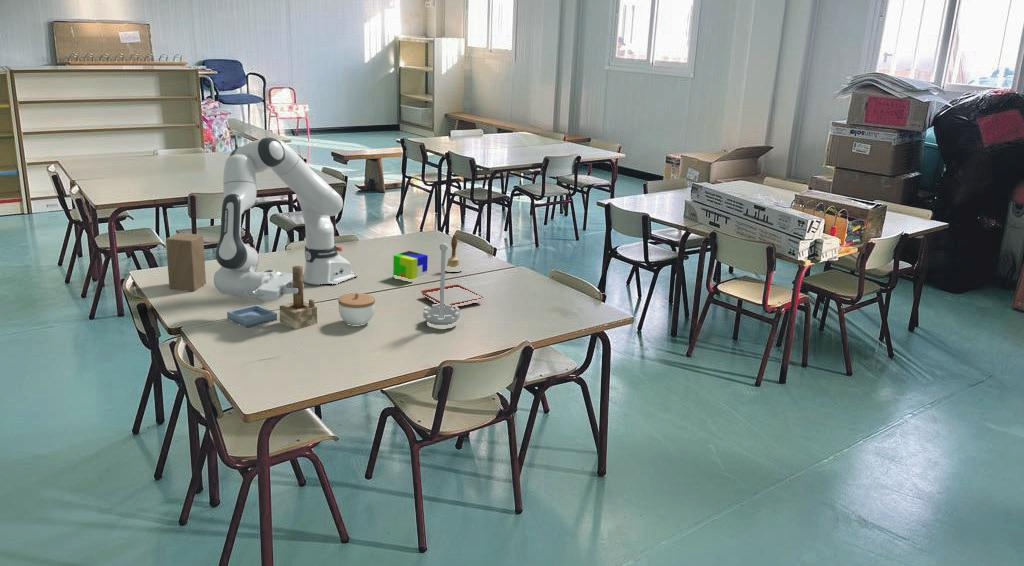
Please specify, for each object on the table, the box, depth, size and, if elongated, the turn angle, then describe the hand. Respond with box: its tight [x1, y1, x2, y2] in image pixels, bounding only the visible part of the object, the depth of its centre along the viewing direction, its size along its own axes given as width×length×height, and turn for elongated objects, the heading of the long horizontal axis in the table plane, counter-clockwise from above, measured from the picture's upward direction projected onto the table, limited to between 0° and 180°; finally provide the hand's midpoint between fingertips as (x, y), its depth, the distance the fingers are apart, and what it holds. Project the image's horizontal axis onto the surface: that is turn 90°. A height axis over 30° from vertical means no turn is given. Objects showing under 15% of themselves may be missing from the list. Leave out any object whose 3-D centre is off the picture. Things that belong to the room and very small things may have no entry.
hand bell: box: [446, 234, 460, 267], centre depth 343 cm, size 8×8×16 cm
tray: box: [226, 304, 278, 329], centre depth 275 cm, size 12×12×2 cm
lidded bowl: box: [337, 292, 376, 325], centre depth 276 cm, size 13×13×11 cm
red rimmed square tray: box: [420, 284, 484, 306], centre depth 306 cm, size 18×18×3 cm
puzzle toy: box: [392, 250, 429, 279], centre depth 330 cm, size 10×10×10 cm
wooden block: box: [165, 232, 207, 292], centre depth 301 cm, size 10×10×20 cm
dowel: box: [292, 265, 305, 310], centre depth 272 cm, size 3×3×18 cm
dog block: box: [279, 298, 318, 330], centre depth 274 cm, size 9×9×8 cm
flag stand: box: [422, 242, 461, 325], centre depth 278 cm, size 13×13×30 cm
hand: (300, 288), depth 271 cm, fingers closed on dowel, 3 cm apart
